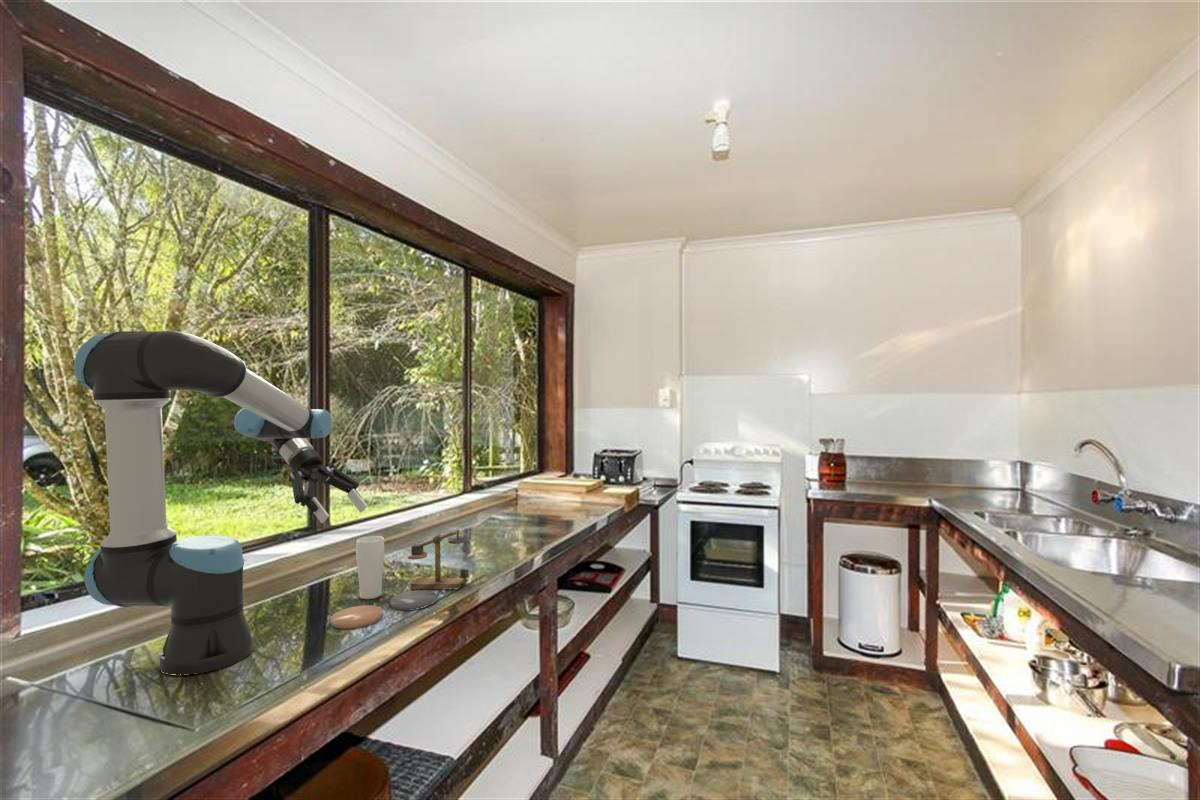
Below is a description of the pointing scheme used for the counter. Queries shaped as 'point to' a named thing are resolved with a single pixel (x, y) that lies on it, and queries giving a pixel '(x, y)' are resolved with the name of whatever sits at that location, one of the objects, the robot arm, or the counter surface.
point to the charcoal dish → (412, 599)
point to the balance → (436, 563)
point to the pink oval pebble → (356, 617)
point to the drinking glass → (370, 566)
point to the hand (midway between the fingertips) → (345, 514)
